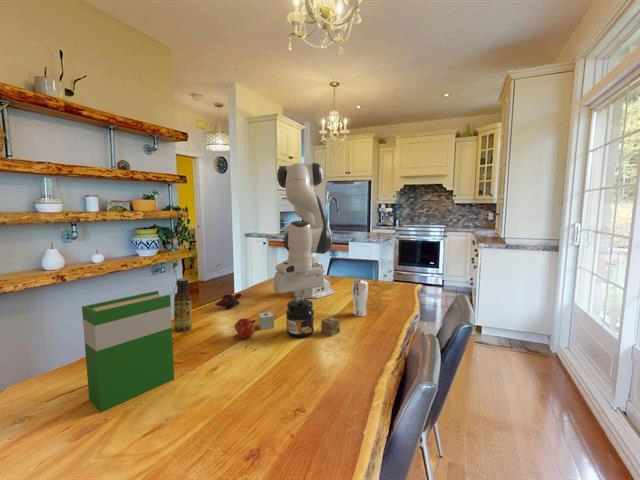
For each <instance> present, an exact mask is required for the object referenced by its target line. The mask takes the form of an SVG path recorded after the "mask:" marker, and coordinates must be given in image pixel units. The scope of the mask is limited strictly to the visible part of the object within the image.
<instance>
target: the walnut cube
mask: <svg viewBox="0 0 640 480" xmlns="http://www.w3.org/2000/svg"><path fill="white" fill-rule="evenodd" d="M340 331H341V320H340V319H338V318H334V317H331V316H329V317H326V318H324V319H321V334H324V335H326V336H329V337H333V336H335V335H337V334H340Z"/></svg>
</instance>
